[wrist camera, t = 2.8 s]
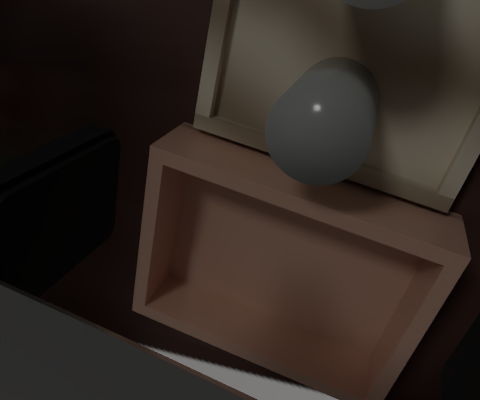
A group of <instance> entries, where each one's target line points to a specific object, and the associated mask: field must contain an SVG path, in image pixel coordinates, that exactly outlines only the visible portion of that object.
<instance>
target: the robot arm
mask: <svg viewBox="0 0 480 400" xmlns="http://www.w3.org/2000/svg"><path fill="white" fill-rule="evenodd" d="M119 157H120V141H119V140H118V139H117V138H116V135H115V133H114V132H113V131H111V130H108V129H105V128H103V127H100V126H97V125H94V124H90V125H87V126H85V127H83V128H81V129H78V130H76V131H74V132H72V133H70V134H67V135H65V136H63V137H61V138H58V139H56V140H54V141H52V142H50V143H47V144H45V145H43V146H41V147H38V148H36V149H34V150H32V151H30V152H27V153H25V154H23V155H21V156H18V157H16V158H14V159H12V160H10V161H7V162H5V163H3V164H1V165H0V400H257V399H255V398H253V397H251V396H249V395H247V394H244V393H242V392H240V391H238V390H236V389H234V388H231V387H229V386H227V385H225V384H223V383H221V382H219V381H217V380H214V379H212V378H210V377H208V376H206V375H204V374H202V373H200V372H198V371H195V370H193V369H191V368H189V367H187V366H185V365H183V364H181V363H178V362H176V361H174V360H172V359H169V358H168V357H165V356H163V355H161V354H159V353H157V352H155V351H153V350H151V349H148V348H146V347H144V346H142V345H140V344H138V343H136V342H133V341H131V340H129V339H127V338H125V337H123V336H121V335H118V334H116V333H114V332H112V331H110V330H108V329H105V328H103V327H101V326H99V325H97V324H95V323H92V322H90V321H88V320H86V319H84V318H82V317H79V316H77V315H75V314H73V313H71V312H69V311H66V310H64V309H62V308H60V307H58V306H56V305H53V304H51V303H49V302H47V301H45V300H43V299H40V298H38V297H39V296H40V295H41V294H43V293H44V292H45V291H46V290H47V289H48V288H50V287H51V286H52V285H53V284H54V283H56V282H57V281H58V280H59V279H60V278H62V277H63V276H64V275H65V274H66V273H67V272H69V271H70V270H71V269H72V268H73V267H75V266H76V265H77V264H78V263H79V262H80V261H82V260H83V259H84V258H85V257H86V256H88V255H89V254H90V253H91V252H92V251H94V250H95V249H96V248H97V247H98V246H99V245H101V244H102V243H103V242H104V241H105V240H107V239H108V238H109V236H110V235H111V233H112V231H113V229H114V223H115V210H116V196H117V183H118V170H119ZM441 382H442V399H443V400H480V313H479V315H478V316H477V318H476V319H475V321H474V322H473V324H472V325H471V327H470V328H469V330H468V331H467V332H466V334H465V335H464V337H463V338H462V340H461V341H460V343H459V344H458V346H457V347H456V349H455V350H454V352H453V353H452V354H451V356H450V357H449V359H448V360H447V362H446V364H445V365H444V368H443V371H442V376H441Z"/></svg>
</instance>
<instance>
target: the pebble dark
mask: <svg viewBox="0 0 480 400" xmlns="http://www.w3.org/2000/svg"><path fill="white" fill-rule="evenodd" d="M379 103H380V92H379V87H378V84H377V82H376V79H375V78H374V76H373V74H372V73H371V72H370V71H369V70H368V69H367V68H366V67H365V66H364V65H362V64H361V63H359V62H357V61H356V60H353V59H350V58H345V57H332V58H327V59H324V60H321V61H319V62H317V63H316V64H314V65H313V66H312V67H310V68H309V69H308V70H307V71H306V72H305V73H304V74H303V75H302V76H301V77H300V78H299V79H298V80H297V81H296V82H295V83H294V84H293V85H292V86H291V87H290V88H289V89H288V90H287V91H286V92H285V93H284V94H283V95H282V96H281V97H280V98H279V99H278V100H277V101H276V103H275V104H274V105H273V107H272V108H271V110H270V112H269V114H268V117H267V120H266V125H265V141H266V145H267V149H268V151H269V154H270V156H271V158H272V159H273V161H274V162H275V164H276V165H277V166H278V167H279V168H280V169H281V170H282V171H283V172H284V173H285V174H286V175H288V176H289V177H291V178H293V179H295V180H297V181H299V182H302V183H305V184H309V185H320V186H322V185H330V184H335V183H338V182H340V181H343V180H345V179H347V178H348V177H350V176H351V175H352V174H354V173H355V172H356V171H357V170H358V169H359V168H360V167H361V165H362V164H363V162H364V161H365V159H366V157H367V155H368V152H369V149H370V146H371V141H372V136H373V132H374V127H375V122H376V118H377V113H378V108H379Z"/></svg>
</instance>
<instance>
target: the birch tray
mask: <svg viewBox="0 0 480 400" xmlns="http://www.w3.org/2000/svg"><path fill="white" fill-rule="evenodd" d="M332 57H345V58H350V59H353V60H356V61H357V62H359V63H361V64H362V65H364V66H365V67H366V68H367V69H368V70H369V71H370V72H371V73H372V74H373V76H374V78H375V79H376V82H377V84H378V87H379V92H380V103H379V108H378V113H377V118H376V122H375V127H374V132H373V136H372V141H371V146H370V149H369V152H368V155H367V157H366V159H365V161H364V162H363V164H362V165H361V167H360V168H359V169H358V170H357V171H356V172H355V173H354V174H352V175H351V176H350V177H348V178H347V179H348V180H351V181H354V182H357V183H360V184H363V185H366V186H369V187H372V188H374V189H377V190H380V191H383V192H386V193H389V194H392V195H395V196H398V197H401V198H404V199H407V200H410V201H413V202H416V203H419V204H422V205H425V206H428V207H431V208H434V209H437V210H440V211H442V212H445V213H448V211H449V209H450V207H451V205H452V203H453V202H454V200H455V198H456V196H457V194H458V192H459V191H460V189H461V187H462V185H463V183H464V181H465V180H466V178H467V176H468V174H469V172H470V170H471V169H472V167H473V165H474V163H475V161H476V159H477V158H478V156H479V154H480V0H407V1H405V2H403V3H401V4H398V5H395V6H393V7H389V8H384V9H375V10H372V9H362V8H357V7H354V6H352V5H349V4H347V3H345V2H343V1H342V0H213V6H212V13H211V19H210V25H209V31H208V37H207V43H206V50H205V56H204V62H203V68H202V74H201V81H200V87H199V93H198V99H197V105H196V112H195V118H194V124H193V127H194V128H197V129H200V130H203V131H206V132H209V133H212V134H215V135H218V136H221V137H224V138H227V139H230V140H233V141H236V142H238V143H241V144H244V145H247V146H250V147H253V148H256V149H259V150H262V151H265V152H268V153H269V151H268V149H267V145H266V141H265V125H266V120H267V117H268V114H269V112H270V110H271V108H272V107H273V105H274V104H275V103H276V101H277V100H278V99H279V98H280V97H281V96H282V95H283V94H284V93H285V92H286V91H287V90H288V89H289V88H290V87H291V86H292V85H293V84H294V83H295V82H296V81H297V80H298V79H299V78H300V77H301V76H302V75H303V74H304V73H305V72H306V71H307V70H308V69H309V68H310V67H312V66H313V65H314V64H316V63H317V62H319V61H321V60H324V59H327V58H332Z"/></svg>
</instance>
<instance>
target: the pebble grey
mask: <svg viewBox="0 0 480 400" xmlns="http://www.w3.org/2000/svg"><path fill="white" fill-rule="evenodd" d="M342 1H343V2H345V3H347V4H349V5H352V6H354V7H357V8H362V9H372V10H375V9H384V8H389V7H393V6H395V5H398V4H401V3H403V2H405V1H407V0H342Z"/></svg>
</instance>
